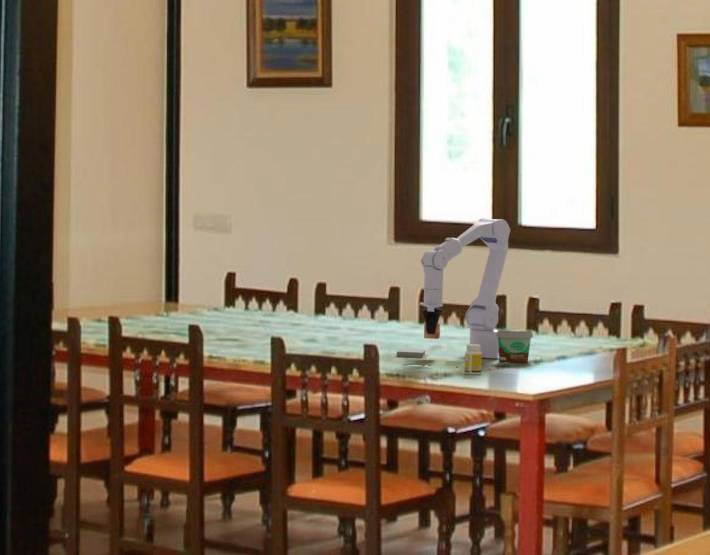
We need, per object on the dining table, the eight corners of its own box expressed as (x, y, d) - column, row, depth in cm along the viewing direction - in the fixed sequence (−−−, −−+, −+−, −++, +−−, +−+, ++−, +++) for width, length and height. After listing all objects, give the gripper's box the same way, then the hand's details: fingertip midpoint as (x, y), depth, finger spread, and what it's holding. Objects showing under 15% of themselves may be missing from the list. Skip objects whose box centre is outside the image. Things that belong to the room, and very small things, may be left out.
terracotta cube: (439, 337, 431) (440, 323, 431) (438, 338, 427) (439, 324, 426) (425, 336, 432) (425, 322, 432) (423, 338, 427) (424, 323, 427)
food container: (504, 364, 425) (506, 331, 424) (494, 361, 430) (496, 329, 430) (539, 363, 430) (540, 331, 429) (529, 360, 435) (530, 329, 435)
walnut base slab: (428, 359, 438) (428, 354, 438) (425, 362, 428) (425, 358, 428) (396, 357, 440) (397, 353, 440) (393, 361, 430) (393, 356, 430)
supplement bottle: (483, 373, 402) (484, 344, 402) (477, 375, 398) (478, 346, 397) (467, 372, 404) (468, 343, 404) (462, 373, 400) (463, 344, 400)
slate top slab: (424, 354, 437) (425, 349, 437) (422, 357, 430) (422, 352, 429) (399, 353, 439) (399, 348, 439) (396, 356, 431) (396, 351, 431)
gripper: (422, 287, 436) (421, 330, 437) (418, 290, 422) (416, 334, 423) (445, 287, 435) (443, 331, 436) (441, 291, 421) (439, 335, 422)
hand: (431, 332), depth 429 cm, fingers closed on terracotta cube, 4 cm apart
